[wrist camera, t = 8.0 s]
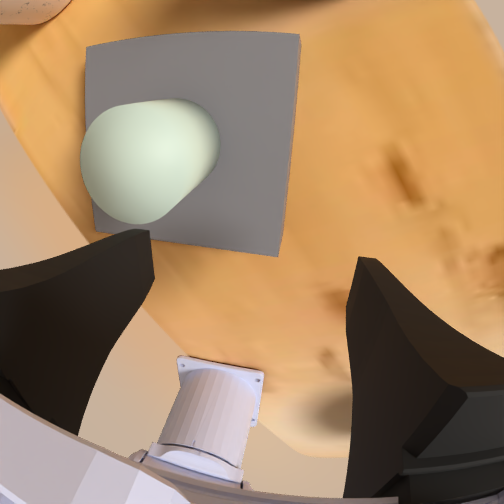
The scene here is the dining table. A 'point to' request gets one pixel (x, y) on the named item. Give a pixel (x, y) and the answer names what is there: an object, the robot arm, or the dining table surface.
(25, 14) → the teacup with lid
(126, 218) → the sage cylinder
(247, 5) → the dining table surface
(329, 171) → the dining table surface
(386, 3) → the dining table surface
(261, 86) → the gray square block
